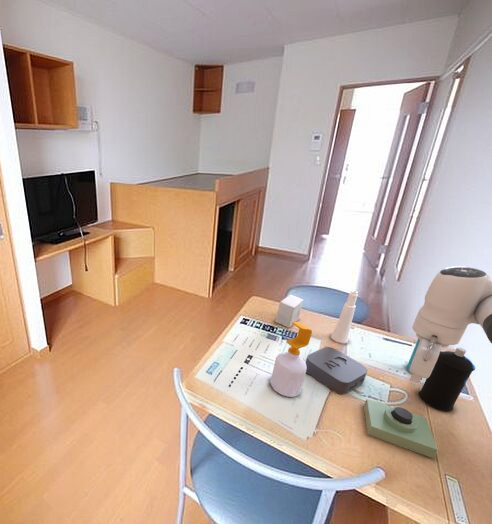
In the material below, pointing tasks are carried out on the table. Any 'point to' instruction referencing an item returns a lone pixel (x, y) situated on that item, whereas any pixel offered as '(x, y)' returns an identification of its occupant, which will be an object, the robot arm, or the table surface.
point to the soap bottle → (291, 365)
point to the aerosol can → (446, 380)
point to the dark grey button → (402, 415)
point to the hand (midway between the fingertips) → (417, 372)
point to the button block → (399, 429)
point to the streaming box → (335, 370)
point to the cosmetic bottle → (345, 319)
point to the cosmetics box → (289, 310)
